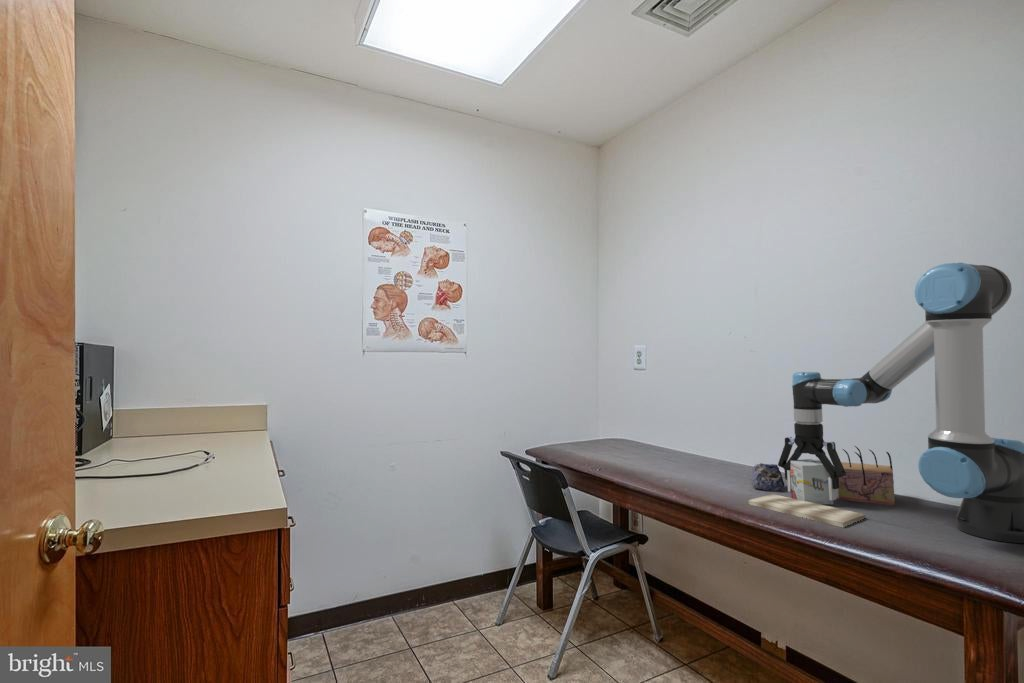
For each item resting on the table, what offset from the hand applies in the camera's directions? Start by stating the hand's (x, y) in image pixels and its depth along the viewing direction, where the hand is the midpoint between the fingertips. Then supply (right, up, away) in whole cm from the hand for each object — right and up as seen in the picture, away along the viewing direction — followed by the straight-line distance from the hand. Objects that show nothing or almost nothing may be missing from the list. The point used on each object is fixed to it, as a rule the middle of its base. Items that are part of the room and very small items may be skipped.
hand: (811, 495), depth 152 cm
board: (-8, -2, -10) cm, 13 cm away
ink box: (0, -2, 0) cm, 2 cm away
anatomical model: (+17, -2, +2) cm, 18 cm away
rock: (-6, -3, +16) cm, 18 cm away
